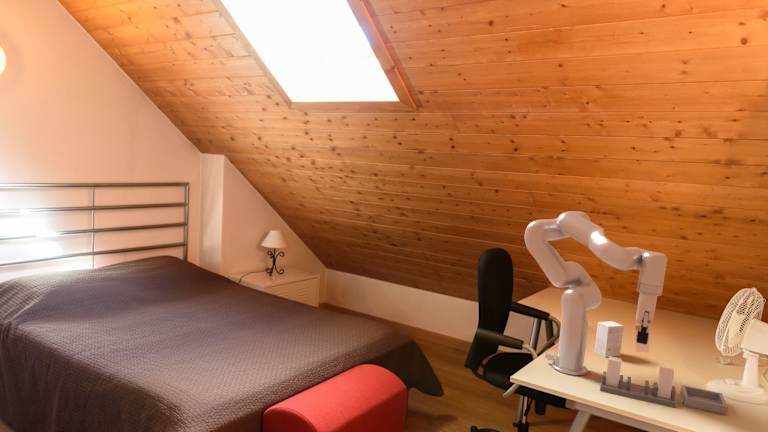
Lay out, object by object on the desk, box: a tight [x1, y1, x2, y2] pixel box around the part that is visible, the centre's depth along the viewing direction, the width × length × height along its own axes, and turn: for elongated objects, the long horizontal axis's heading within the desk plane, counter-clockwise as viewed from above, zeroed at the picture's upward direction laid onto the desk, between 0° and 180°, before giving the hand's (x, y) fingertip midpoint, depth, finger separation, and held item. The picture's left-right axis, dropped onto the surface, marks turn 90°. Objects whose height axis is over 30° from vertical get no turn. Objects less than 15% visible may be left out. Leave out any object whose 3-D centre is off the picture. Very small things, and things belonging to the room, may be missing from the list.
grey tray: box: [680, 384, 728, 416], centre depth 180 cm, size 12×12×3 cm
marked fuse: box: [635, 321, 650, 354], centre depth 183 cm, size 4×4×9 cm
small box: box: [594, 320, 624, 358], centre depth 223 cm, size 8×6×13 cm
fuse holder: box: [599, 356, 677, 408], centre depth 184 cm, size 23×10×10 cm, turn 65°
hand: (641, 340), depth 184 cm, fingers closed on marked fuse, 4 cm apart
